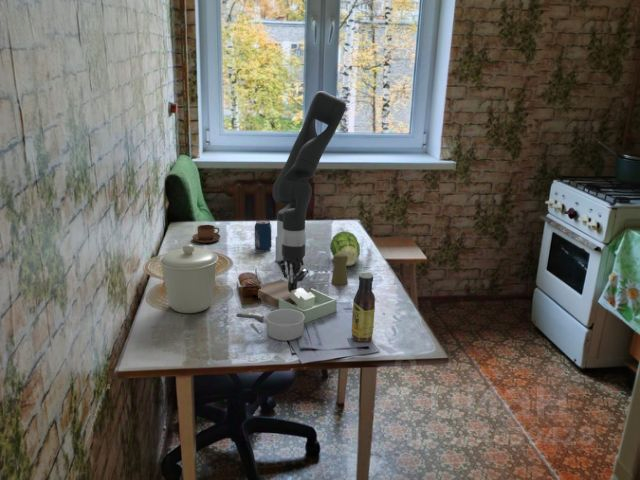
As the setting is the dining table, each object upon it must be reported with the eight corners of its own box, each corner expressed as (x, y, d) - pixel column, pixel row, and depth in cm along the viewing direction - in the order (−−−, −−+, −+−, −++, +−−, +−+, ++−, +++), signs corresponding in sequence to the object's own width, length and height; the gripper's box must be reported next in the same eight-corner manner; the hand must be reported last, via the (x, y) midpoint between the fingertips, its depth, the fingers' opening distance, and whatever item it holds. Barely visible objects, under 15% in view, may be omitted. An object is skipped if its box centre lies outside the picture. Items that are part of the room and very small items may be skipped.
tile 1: (289, 296, 185) (291, 290, 184) (299, 293, 188) (301, 287, 187) (297, 305, 183) (299, 299, 182) (308, 301, 186) (310, 295, 185)
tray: (278, 310, 183) (278, 298, 182) (311, 299, 192) (311, 288, 191) (303, 323, 174) (303, 311, 173) (336, 311, 184) (336, 299, 182)
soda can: (273, 247, 243) (273, 220, 240) (268, 252, 237) (269, 224, 233) (257, 245, 244) (257, 218, 241) (252, 251, 238) (252, 223, 234)
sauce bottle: (349, 333, 169) (353, 270, 163) (370, 333, 170) (374, 270, 164) (352, 343, 163) (356, 278, 157) (374, 343, 164) (378, 278, 158)
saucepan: (241, 322, 174) (240, 306, 172) (306, 326, 173) (306, 309, 171) (232, 340, 163) (232, 322, 162) (302, 344, 162) (303, 326, 160)
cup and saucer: (207, 234, 258) (206, 221, 256) (226, 240, 251) (225, 226, 249) (186, 241, 248) (186, 227, 247) (205, 246, 242) (205, 232, 240)
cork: (346, 286, 204) (347, 257, 200) (329, 284, 205) (330, 255, 201) (349, 280, 209) (350, 252, 206) (332, 278, 210) (333, 250, 207)
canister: (157, 299, 188) (154, 238, 182) (212, 292, 195) (210, 233, 189) (166, 322, 172) (163, 256, 166) (225, 314, 179) (224, 250, 173)
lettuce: (333, 273, 216) (334, 244, 213) (328, 255, 236) (329, 228, 232) (363, 273, 217) (365, 245, 214) (356, 255, 237) (357, 229, 233)
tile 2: (300, 295, 181) (305, 300, 179) (310, 292, 184) (315, 296, 182) (296, 306, 183) (301, 311, 182) (307, 302, 186) (312, 307, 185)
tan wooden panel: (253, 295, 194) (253, 287, 193) (281, 286, 202) (281, 279, 201) (281, 309, 183) (281, 301, 183) (309, 300, 191) (309, 292, 190)
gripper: (271, 238, 184) (270, 288, 189) (298, 249, 174) (296, 301, 180) (289, 234, 188) (288, 283, 194) (316, 244, 179) (314, 295, 185)
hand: (292, 291), depth 187 cm, fingers closed
